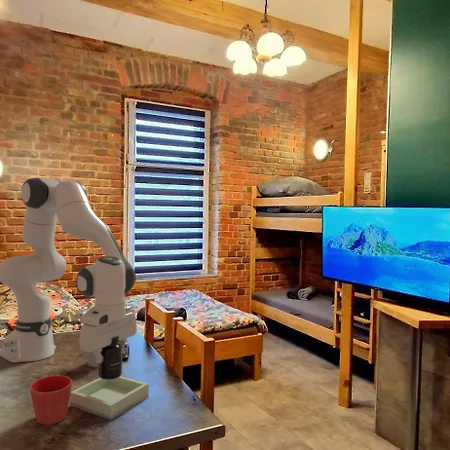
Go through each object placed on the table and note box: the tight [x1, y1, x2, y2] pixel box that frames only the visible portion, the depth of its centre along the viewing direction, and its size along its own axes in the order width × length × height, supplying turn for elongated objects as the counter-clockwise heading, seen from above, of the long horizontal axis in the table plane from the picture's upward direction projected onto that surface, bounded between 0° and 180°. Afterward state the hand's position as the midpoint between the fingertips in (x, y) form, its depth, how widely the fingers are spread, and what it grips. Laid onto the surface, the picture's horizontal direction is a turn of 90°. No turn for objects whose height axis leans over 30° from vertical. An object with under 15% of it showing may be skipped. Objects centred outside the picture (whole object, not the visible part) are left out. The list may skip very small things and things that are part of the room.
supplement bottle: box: [97, 336, 123, 380], centre depth 124 cm, size 7×7×12 cm
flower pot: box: [29, 374, 73, 426], centre depth 115 cm, size 11×11×10 cm
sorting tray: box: [69, 375, 150, 421], centre depth 125 cm, size 16×16×4 cm
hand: (110, 357), depth 124 cm, fingers closed on supplement bottle, 7 cm apart
